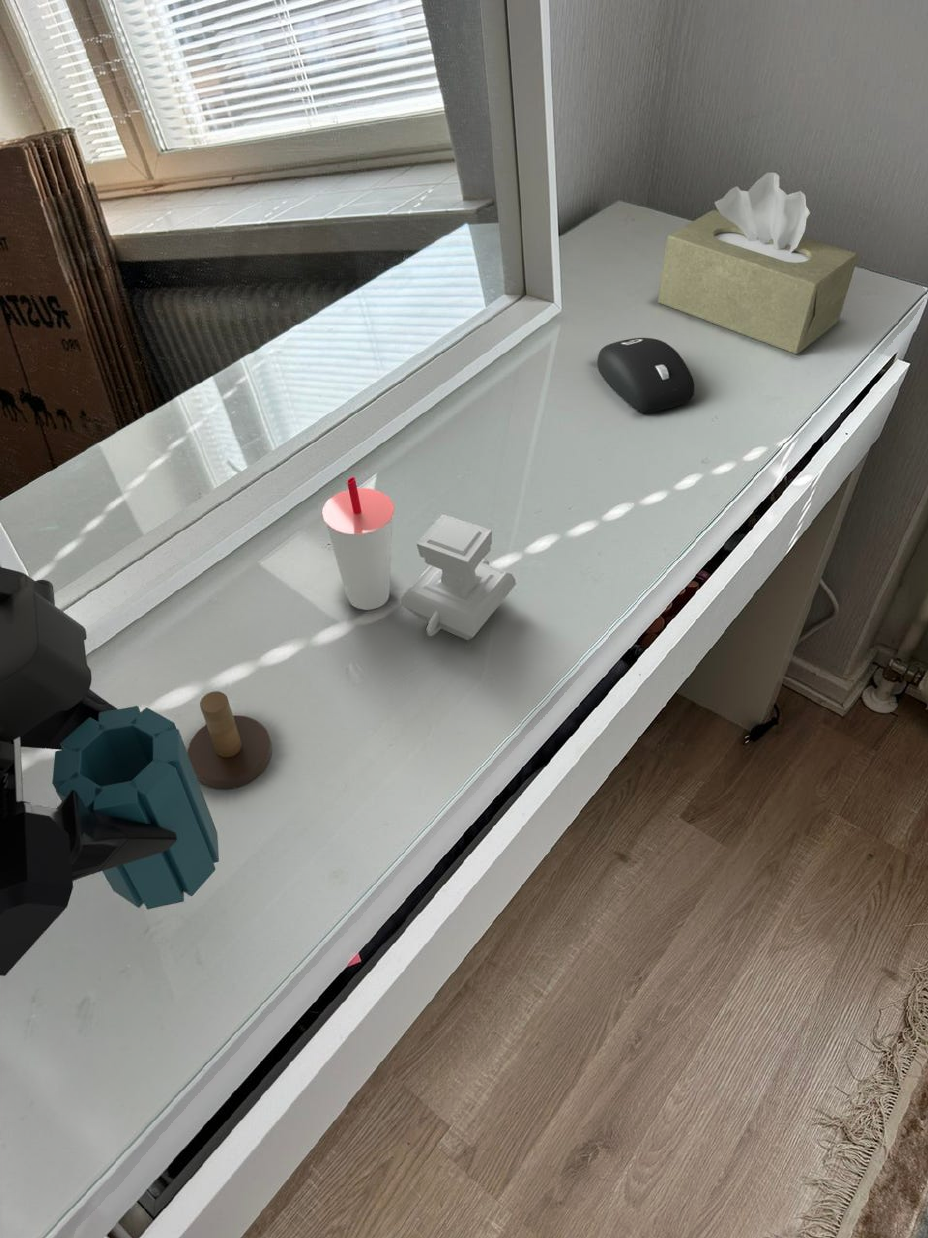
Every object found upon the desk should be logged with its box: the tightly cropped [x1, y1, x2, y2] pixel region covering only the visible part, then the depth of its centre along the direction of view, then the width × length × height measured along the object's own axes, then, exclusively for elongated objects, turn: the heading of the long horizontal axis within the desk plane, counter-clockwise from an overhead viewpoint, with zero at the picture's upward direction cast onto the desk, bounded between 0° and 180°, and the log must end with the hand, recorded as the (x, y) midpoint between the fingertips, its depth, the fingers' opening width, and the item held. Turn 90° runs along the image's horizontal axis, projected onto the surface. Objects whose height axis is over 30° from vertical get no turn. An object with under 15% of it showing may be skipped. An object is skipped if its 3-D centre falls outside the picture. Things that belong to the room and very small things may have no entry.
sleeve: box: [51, 705, 220, 910], centre depth 49 cm, size 6×6×10 cm
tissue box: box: [657, 172, 859, 355], centre depth 101 cm, size 19×10×16 cm, turn 48°
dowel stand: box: [187, 690, 273, 790], centre depth 62 cm, size 6×6×6 cm
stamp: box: [399, 513, 517, 641], centre depth 70 cm, size 9×7×8 cm
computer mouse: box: [596, 337, 695, 413], centre depth 95 cm, size 8×12×4 cm, turn 24°
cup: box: [321, 476, 395, 611], centre depth 70 cm, size 5×5×12 cm
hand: (164, 792), depth 48 cm, fingers closed on sleeve, 6 cm apart
